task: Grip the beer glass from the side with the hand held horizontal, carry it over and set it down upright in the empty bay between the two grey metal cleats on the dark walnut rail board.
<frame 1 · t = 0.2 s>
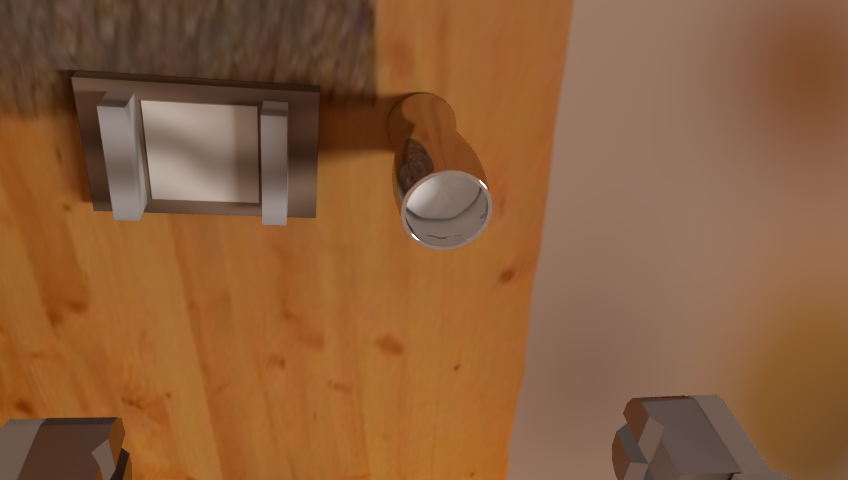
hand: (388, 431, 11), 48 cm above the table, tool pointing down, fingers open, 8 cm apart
beer glass: (421, 124, 60), on the table
rail board: (206, 145, 59), on the table
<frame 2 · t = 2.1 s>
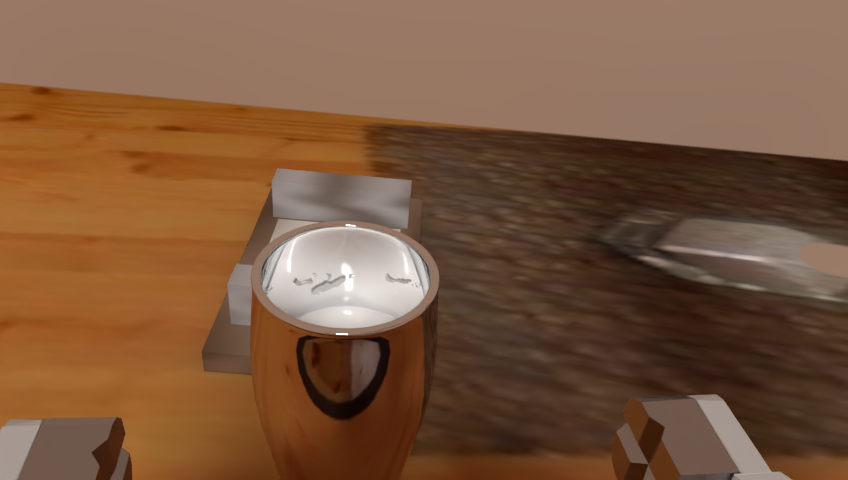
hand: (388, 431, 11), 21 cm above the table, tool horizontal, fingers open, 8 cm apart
rail board: (330, 279, 47), on the table
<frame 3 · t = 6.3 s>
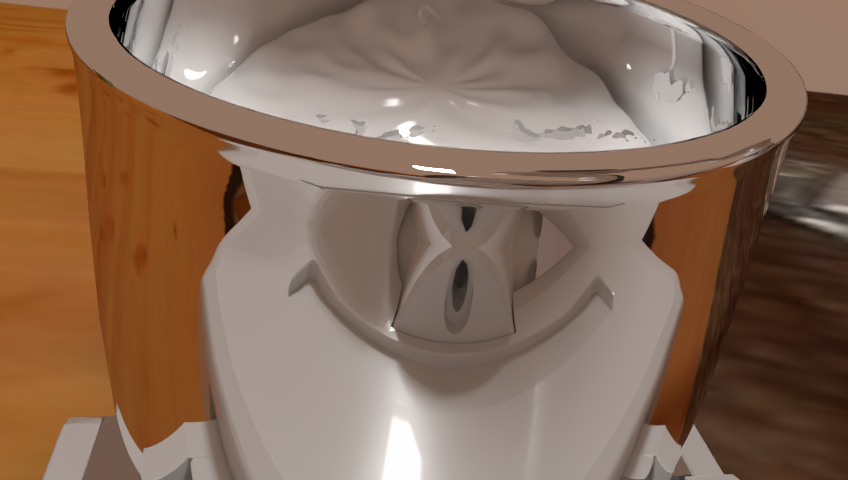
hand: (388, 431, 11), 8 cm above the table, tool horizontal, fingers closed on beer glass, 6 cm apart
when the fingers open (11 cm above the table, at t = 11.4 s): beer glass moves 1 cm, resting on rail board.
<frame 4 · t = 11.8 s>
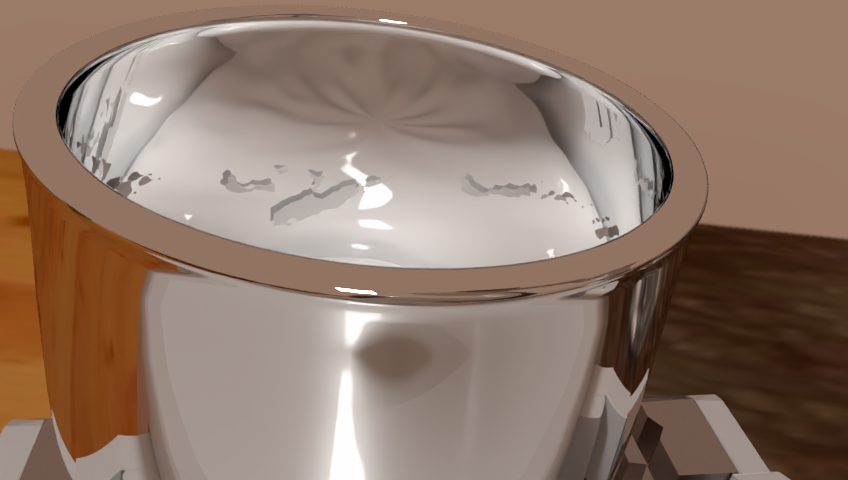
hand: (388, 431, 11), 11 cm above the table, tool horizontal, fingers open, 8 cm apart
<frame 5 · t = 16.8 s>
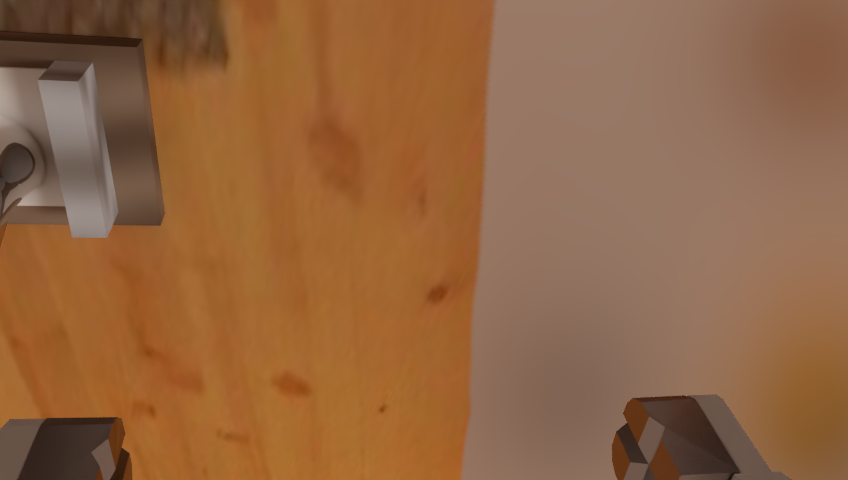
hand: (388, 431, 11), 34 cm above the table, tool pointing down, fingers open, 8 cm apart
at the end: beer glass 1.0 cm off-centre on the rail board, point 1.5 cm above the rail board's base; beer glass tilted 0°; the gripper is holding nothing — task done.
